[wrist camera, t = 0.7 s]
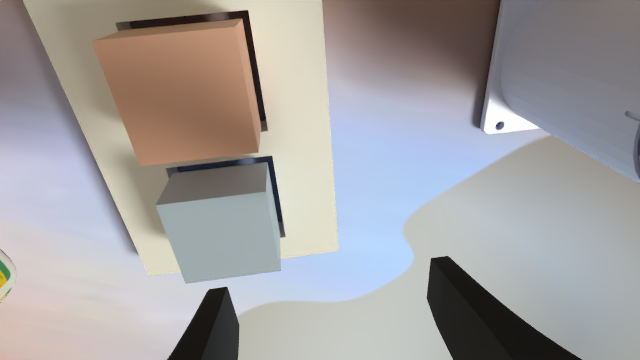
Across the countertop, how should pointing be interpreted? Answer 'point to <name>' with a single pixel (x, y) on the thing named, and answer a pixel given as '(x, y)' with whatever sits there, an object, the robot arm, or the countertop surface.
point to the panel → (149, 181)
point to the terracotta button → (183, 90)
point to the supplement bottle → (6, 275)
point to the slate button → (221, 222)
